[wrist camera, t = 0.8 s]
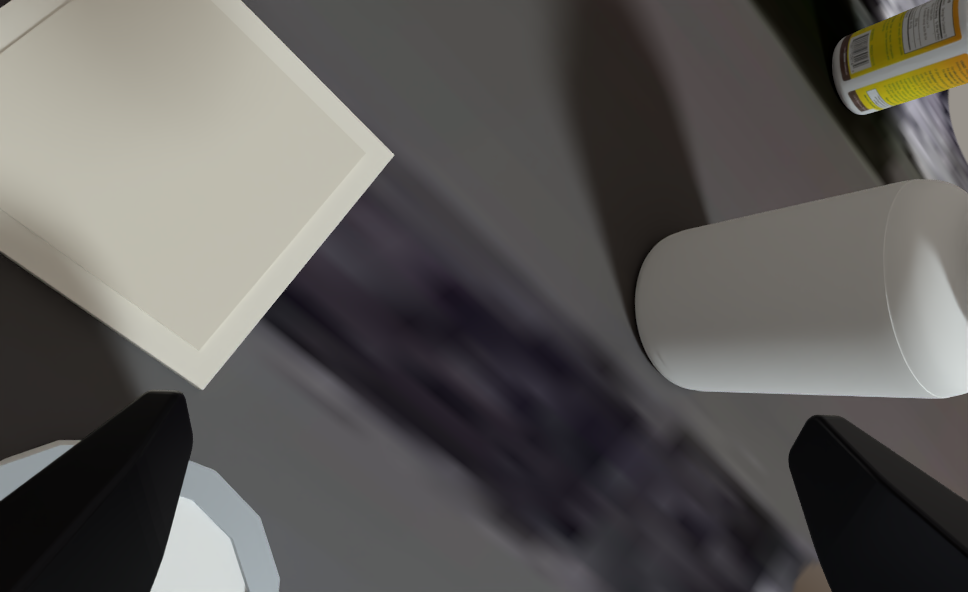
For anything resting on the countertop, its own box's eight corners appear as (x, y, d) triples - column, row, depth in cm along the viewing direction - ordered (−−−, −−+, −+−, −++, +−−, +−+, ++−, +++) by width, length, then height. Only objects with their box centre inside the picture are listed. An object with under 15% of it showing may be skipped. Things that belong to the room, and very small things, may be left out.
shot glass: (-99, 746, 14) (-197, 1003, 9) (-124, 444, 14) (-236, 498, 9) (220, 630, 18) (299, 754, 12) (197, 394, 18) (264, 409, 13)
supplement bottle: (874, 105, 46) (1058, 48, 38) (843, 126, 43) (1036, 69, 34) (852, 31, 45) (1036, -45, 37) (819, 47, 42) (1011, -32, 34)
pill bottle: (718, 225, 34) (1101, 147, 21) (740, 373, 34) (1137, 379, 21) (617, 236, 29) (1030, 144, 17) (643, 406, 29) (1075, 438, 17)
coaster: (198, 389, 18) (203, 390, 18) (-166, 138, 14) (-175, 129, 14) (386, 159, 23) (395, 154, 22) (143, -84, 19) (146, -98, 18)
